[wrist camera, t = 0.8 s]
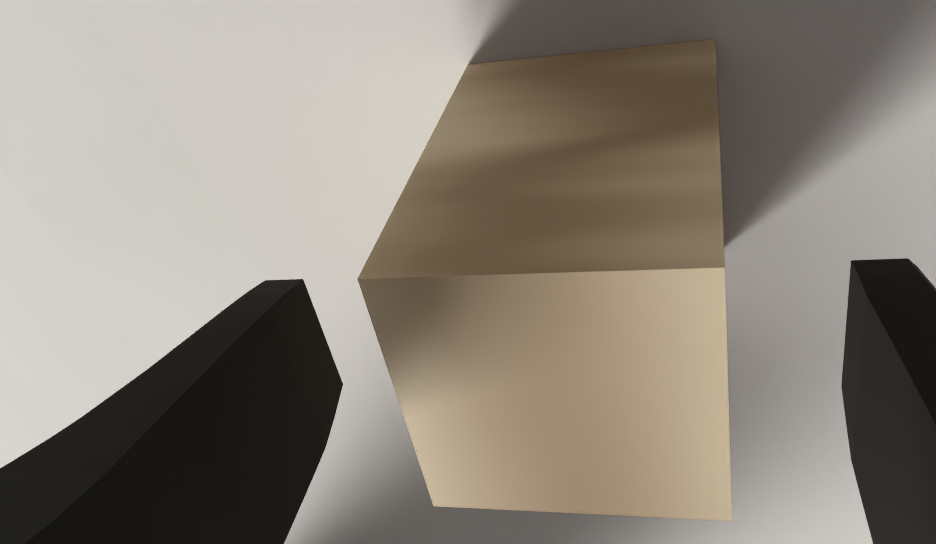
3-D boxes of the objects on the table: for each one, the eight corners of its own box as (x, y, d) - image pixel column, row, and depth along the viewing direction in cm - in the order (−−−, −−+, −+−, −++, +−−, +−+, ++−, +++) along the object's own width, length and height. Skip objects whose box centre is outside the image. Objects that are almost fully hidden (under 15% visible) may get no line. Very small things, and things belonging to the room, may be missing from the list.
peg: (715, 38, 13) (724, 268, 9) (721, 249, 15) (731, 520, 11) (468, 64, 14) (357, 279, 10) (507, 257, 17) (433, 506, 12)
